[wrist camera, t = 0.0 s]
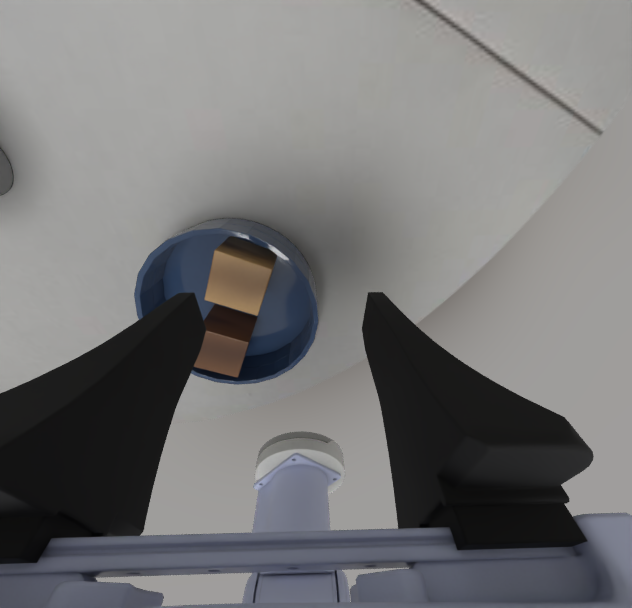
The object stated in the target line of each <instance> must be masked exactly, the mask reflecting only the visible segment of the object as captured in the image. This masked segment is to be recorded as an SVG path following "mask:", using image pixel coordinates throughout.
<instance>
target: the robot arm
mask: <svg viewBox="0 0 632 608" xmlns="http://www.w3.org/2000/svg"><path fill="white" fill-rule="evenodd" d="M362 332H363V339H364V345H365V351H366V354H367V358H368V361H369V365H370V368H371V372H372V375H373V379H374V382H375V386H376V389H377V393H378V396H379V401H380V405H381V410H382V416H383V422H384V427H385V433H386V439H387V446H388V451H389V458H390V466H391V473H392V480H393V487H394V495H395V503H396V511H397V520H398V529H368V530H332V531H330V518H329V503H328V486H329V485H331V484H333V483H334V482H336V481H337V480H339V479H340V478H341V474H340V473H338V472H336V471H334V470H332V469H330V468H328V467H326V466H324V465H322V464H320V463H318V462H316V461H313V460H311V459H309V458H307V457H305V456H303V455H301V454H299V453H294V454H292V455H291V456H290V457H289V458H287V459H286V460H285V461H283V462H282V463H281V464H279V465H278V466H277V467H275V468H274V469H273V470H272V471H270V472H269V473H268V474H266V475H265V476H264V477H262V478H261V479H260V480H258V481H257V482H256V483H254V486H253V488H254V489H256V490H258V497H257V505H256V511H255V517H254V524H253V530H252V533H223V534H188V535H187V534H185V535H153V536H152V535H150V536H140V535H141V533H142V532H143V530H144V525H145V520H146V515H147V511H148V507H149V502H150V498H151V493H152V489H153V485H154V481H155V477H156V473H157V469H158V465H159V462H160V457H161V454H162V451H163V447H164V444H165V440H166V437H167V434H168V430H169V427H170V424H171V421H172V418H173V415H174V412H175V409H176V406H177V403H178V401H179V398H180V396H181V394H182V391H183V389H184V387H185V385H186V382H187V380H188V378H189V376H190V374H191V371H192V369H193V367H194V364H195V362H196V360H197V358H198V355H199V353H200V350H201V347H202V344H203V340H204V336H205V333H206V327H205V323H204V320H203V317H202V314H201V311H200V308H199V305H198V302H197V299H196V296H195V293H178V294H176V295H175V296H173V297H171V298H170V299H168V300H167V301H166V302H164V303H163V304H161V305H160V306H158V307H157V308H156V309H154V310H153V311H151V312H150V313H148V314H147V315H146V316H144V317H143V318H141V319H140V320H138V321H137V322H136V323H134V324H133V325H131V326H129V327H128V328H126V329H125V330H123V331H122V332H120V333H119V334H117V335H116V336H114V337H112V338H111V339H109V340H108V341H106V342H104V343H103V344H101V345H99V346H98V347H96V348H94V349H92V350H91V351H89V352H87V353H85V354H83V355H81V356H80V357H78V358H76V359H74V360H72V361H70V362H68V363H66V364H64V365H62V366H60V367H58V368H56V369H54V370H52V371H50V372H48V373H46V374H43V375H41V376H39V377H37V378H35V379H33V380H31V381H29V382H26V383H24V384H22V385H19V386H17V387H15V388H13V389H10V390H8V391H5V392H3V393H1V394H0V608H632V516H631V515H630V514H628V513H601V514H582V515H577V516H573V517H572V515H571V514H570V513H569V511H568V509H567V508H566V506H565V505H564V503H567V502H569V497H568V496H567V494H566V492H565V491H564V489H563V488H562V486H561V484H563V483H564V482H566V481H567V480H569V479H571V478H572V477H574V476H575V475H577V474H579V473H580V472H582V471H583V470H585V469H586V468H587V467H588V466H589V465H590V464H591V462H592V461H593V452H592V450H591V449H590V448H589V447H588V445H587V444H586V443H585V442H584V441H583V439H582V438H581V437H580V436H579V434H578V433H577V432H576V431H575V429H574V428H573V427H572V426H571V425H570V423H569V422H568V421H567V420H566V419H565V417H563V416H561V415H559V414H556V413H554V412H552V411H550V410H548V409H546V408H544V407H542V406H540V405H538V404H536V403H533V402H531V401H529V400H527V399H525V398H523V397H521V396H519V395H517V394H516V393H514V392H512V391H510V390H508V389H506V388H504V387H503V386H501V385H499V384H497V383H495V382H494V381H492V380H490V379H489V378H487V377H485V376H483V375H482V374H480V373H479V372H477V371H475V370H474V369H472V368H471V367H469V366H468V365H466V364H464V363H463V362H461V361H460V360H458V359H457V358H455V357H454V356H453V355H451V354H450V353H449V352H447V351H446V350H445V349H443V348H442V347H441V346H439V345H438V344H437V343H435V342H434V341H433V340H432V339H430V338H429V337H428V336H427V335H426V334H425V333H424V332H422V331H421V330H420V329H419V328H418V327H416V325H415V324H414V323H412V322H411V321H410V320H409V319H408V318H407V317H406V316H405V315H404V314H403V313H402V312H401V311H400V310H399V309H398V308H397V307H396V306H395V305H394V304H393V303H392V302H391V300H390V299H389V298H388V297H387V296H386V295H385V294H384V293H383V292H368V296H367V302H366V308H365V314H364V320H363V326H362ZM406 567H407V568H409V569H397V570H389V571H382V572H375V573H368V574H362V575H358V577H357V579H356V585H354V586H352V587H351V589H350V595H351V602H350V595H349V587H348V581H347V577H346V575H345V573H344V572H343V571H342V570H345V569H346V570H347V569H377V568H378V569H379V568H406ZM220 573H252V575H251V576H250V577H249V579H248V581H247V584H246V587H245V591H244V596H243V603H242V604H209V605H183V606H162V607H161V605H162V602H163V598H164V596H163V594H162V593H158V592H152V591H146V590H143V589H139V588H136V587H134V586H133V585H131V584H129V583H110V582H97V580H96V577H125V576H126V577H128V576H158V575H190V574H220Z"/></svg>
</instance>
